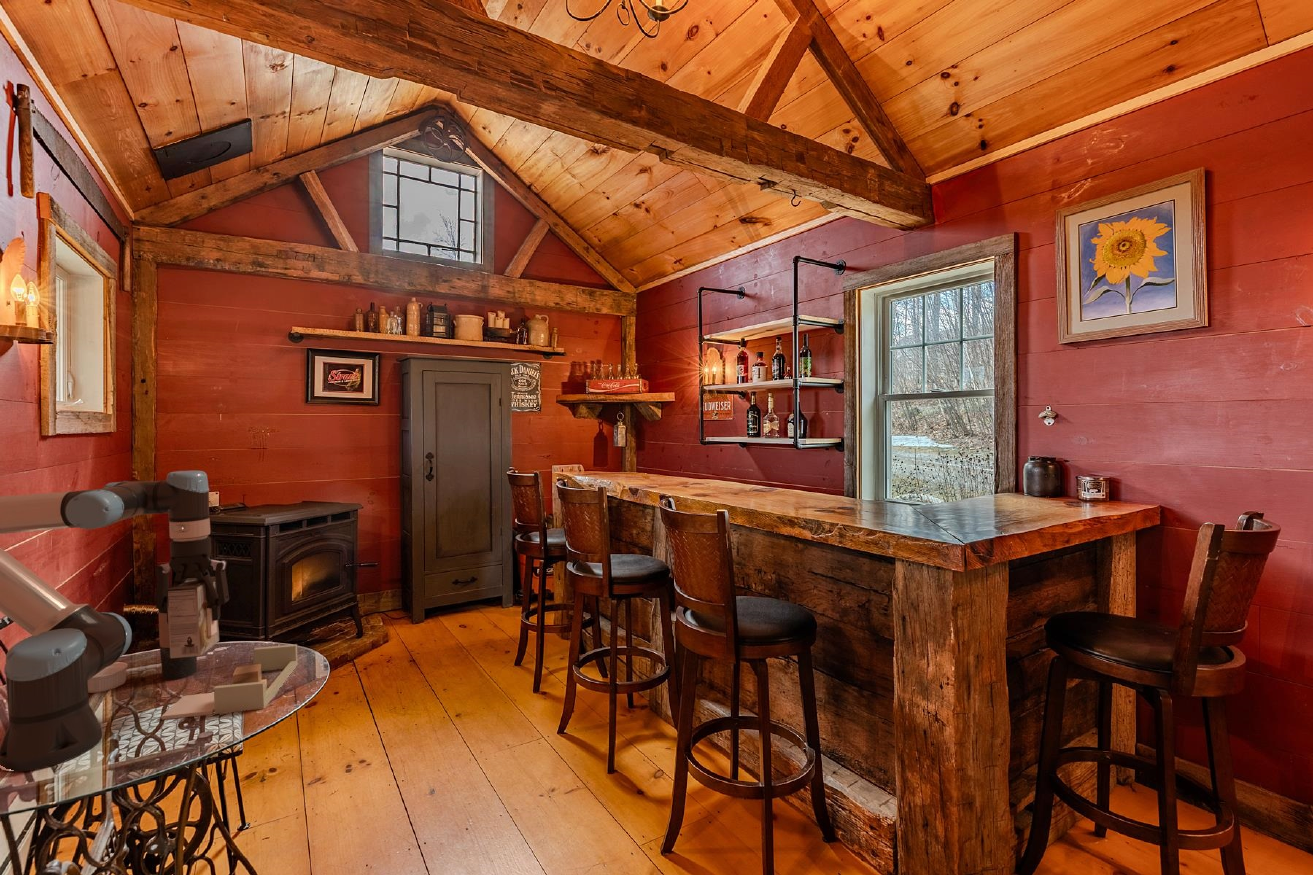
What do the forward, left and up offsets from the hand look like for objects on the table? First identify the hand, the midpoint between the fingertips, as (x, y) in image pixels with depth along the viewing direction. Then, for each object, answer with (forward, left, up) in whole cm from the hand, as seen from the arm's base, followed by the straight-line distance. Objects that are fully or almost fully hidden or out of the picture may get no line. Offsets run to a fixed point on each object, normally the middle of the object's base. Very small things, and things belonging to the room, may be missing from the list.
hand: (194, 635), depth 143 cm
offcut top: (+11, 0, -13) cm, 17 cm away
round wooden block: (-28, +18, -17) cm, 38 cm away
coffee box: (0, 0, -4) cm, 4 cm away
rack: (+11, +7, -17) cm, 21 cm away
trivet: (0, 0, -17) cm, 17 cm away
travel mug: (-13, +21, -17) cm, 30 cm away
